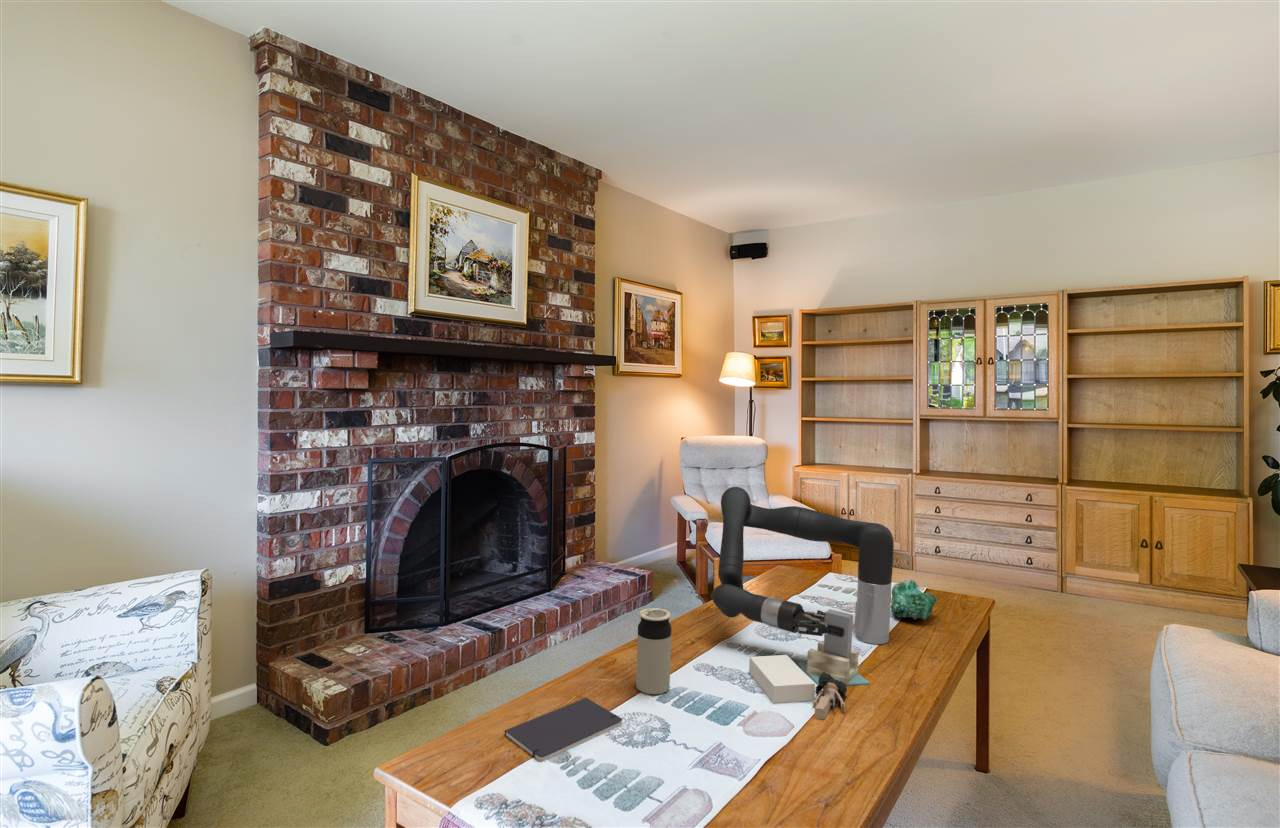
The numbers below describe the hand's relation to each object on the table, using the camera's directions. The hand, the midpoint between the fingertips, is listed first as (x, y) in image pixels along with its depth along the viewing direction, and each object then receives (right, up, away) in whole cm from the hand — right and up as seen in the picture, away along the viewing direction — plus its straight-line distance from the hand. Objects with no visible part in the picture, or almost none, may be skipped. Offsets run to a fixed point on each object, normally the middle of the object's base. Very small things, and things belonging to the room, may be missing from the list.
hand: (845, 630), depth 162 cm
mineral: (+36, -11, +47) cm, 60 cm away
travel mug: (-49, -11, -8) cm, 50 cm away
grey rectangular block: (-2, -10, +2) cm, 10 cm away
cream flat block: (-17, -12, -5) cm, 22 cm away
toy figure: (-8, -13, -14) cm, 21 cm away
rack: (-3, -11, +2) cm, 12 cm away
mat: (-3, -12, +2) cm, 12 cm away
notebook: (-67, -12, -28) cm, 74 cm away
